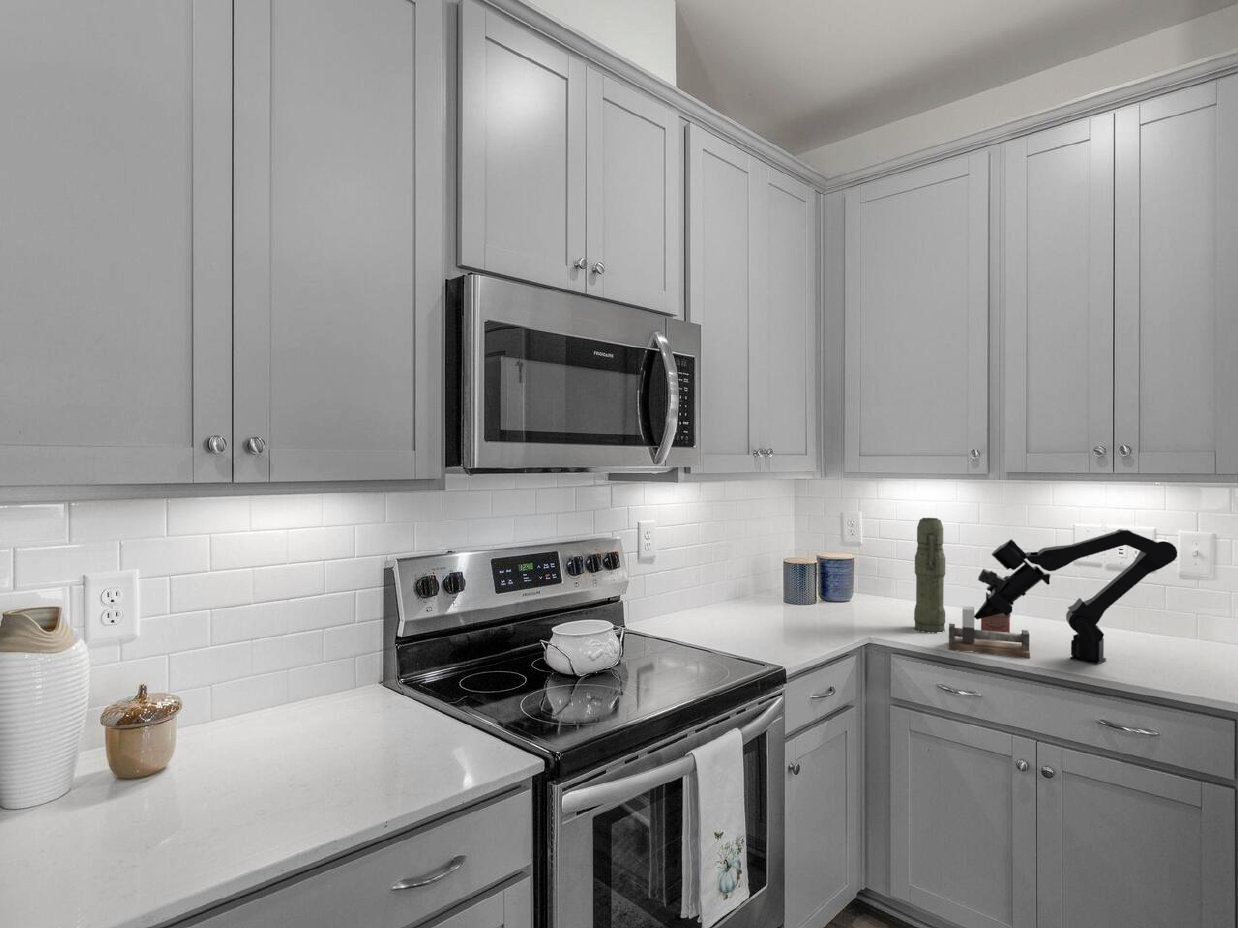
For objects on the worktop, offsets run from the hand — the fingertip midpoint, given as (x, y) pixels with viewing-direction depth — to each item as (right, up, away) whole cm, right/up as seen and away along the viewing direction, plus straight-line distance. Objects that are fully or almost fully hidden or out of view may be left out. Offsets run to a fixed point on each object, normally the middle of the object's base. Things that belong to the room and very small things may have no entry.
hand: (975, 617), depth 207 cm
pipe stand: (+3, -9, -1) cm, 9 cm away
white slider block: (-2, -7, +1) cm, 7 cm away
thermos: (-3, -9, +23) cm, 24 cm away
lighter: (+12, -9, +13) cm, 20 cm away
